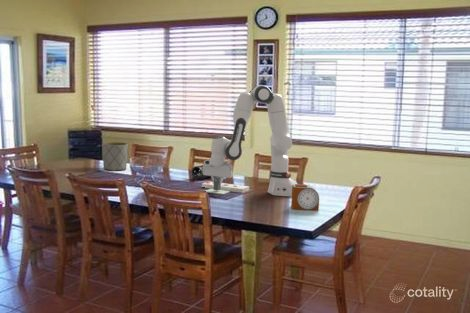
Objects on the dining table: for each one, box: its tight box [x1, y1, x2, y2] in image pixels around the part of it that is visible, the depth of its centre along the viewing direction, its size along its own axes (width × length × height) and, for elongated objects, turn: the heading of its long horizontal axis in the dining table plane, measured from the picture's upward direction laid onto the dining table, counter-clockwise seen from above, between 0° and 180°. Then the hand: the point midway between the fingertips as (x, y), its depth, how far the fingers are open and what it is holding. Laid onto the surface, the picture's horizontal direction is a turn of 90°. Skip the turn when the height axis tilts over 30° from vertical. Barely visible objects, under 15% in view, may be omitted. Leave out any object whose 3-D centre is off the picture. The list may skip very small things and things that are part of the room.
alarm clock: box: [290, 183, 320, 211], centre depth 303 cm, size 15×8×14 cm, turn 90°
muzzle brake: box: [191, 164, 216, 181], centre depth 388 cm, size 10×28×10 cm, turn 144°
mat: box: [205, 188, 231, 195], centre depth 340 cm, size 14×9×1 cm, turn 65°
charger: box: [214, 177, 221, 191], centre depth 339 cm, size 3×4×8 cm
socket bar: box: [201, 180, 250, 194], centre depth 351 cm, size 30×10×3 cm, turn 65°
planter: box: [101, 141, 129, 172], centre depth 408 cm, size 19×19×20 cm
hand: (217, 183), depth 339 cm, fingers closed on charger, 3 cm apart
